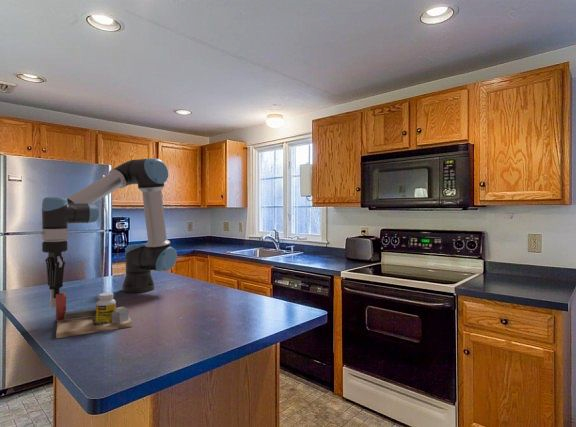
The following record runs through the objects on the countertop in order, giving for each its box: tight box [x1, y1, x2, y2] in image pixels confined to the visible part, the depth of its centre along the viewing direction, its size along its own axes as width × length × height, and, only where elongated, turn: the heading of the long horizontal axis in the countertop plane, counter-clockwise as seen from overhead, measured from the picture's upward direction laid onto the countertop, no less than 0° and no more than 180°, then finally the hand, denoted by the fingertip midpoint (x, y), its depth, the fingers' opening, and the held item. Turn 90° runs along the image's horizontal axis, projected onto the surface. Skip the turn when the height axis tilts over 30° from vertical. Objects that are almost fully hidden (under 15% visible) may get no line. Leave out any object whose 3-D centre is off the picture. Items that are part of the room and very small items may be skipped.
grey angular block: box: [112, 307, 130, 329], centre depth 123 cm, size 5×3×6 cm, turn 172°
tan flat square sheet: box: [55, 306, 133, 339], centre depth 126 cm, size 22×22×2 cm
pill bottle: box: [95, 292, 117, 326], centre depth 124 cm, size 6×6×11 cm
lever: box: [55, 292, 96, 322], centre depth 126 cm, size 16×4×9 cm, turn 122°
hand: (55, 306), depth 126 cm, fingers closed
